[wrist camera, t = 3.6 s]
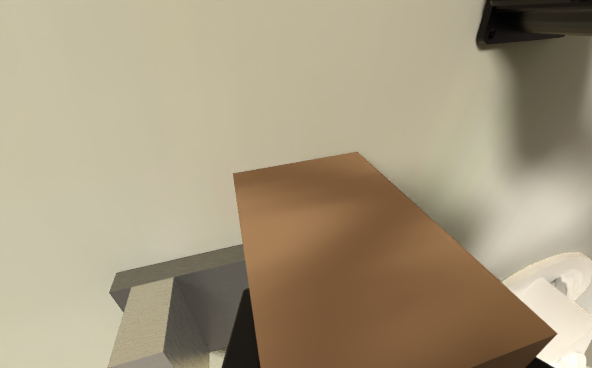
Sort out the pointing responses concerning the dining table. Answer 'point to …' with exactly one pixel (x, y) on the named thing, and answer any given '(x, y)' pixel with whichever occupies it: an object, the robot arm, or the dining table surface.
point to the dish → (558, 304)
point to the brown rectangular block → (368, 277)
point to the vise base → (199, 288)
